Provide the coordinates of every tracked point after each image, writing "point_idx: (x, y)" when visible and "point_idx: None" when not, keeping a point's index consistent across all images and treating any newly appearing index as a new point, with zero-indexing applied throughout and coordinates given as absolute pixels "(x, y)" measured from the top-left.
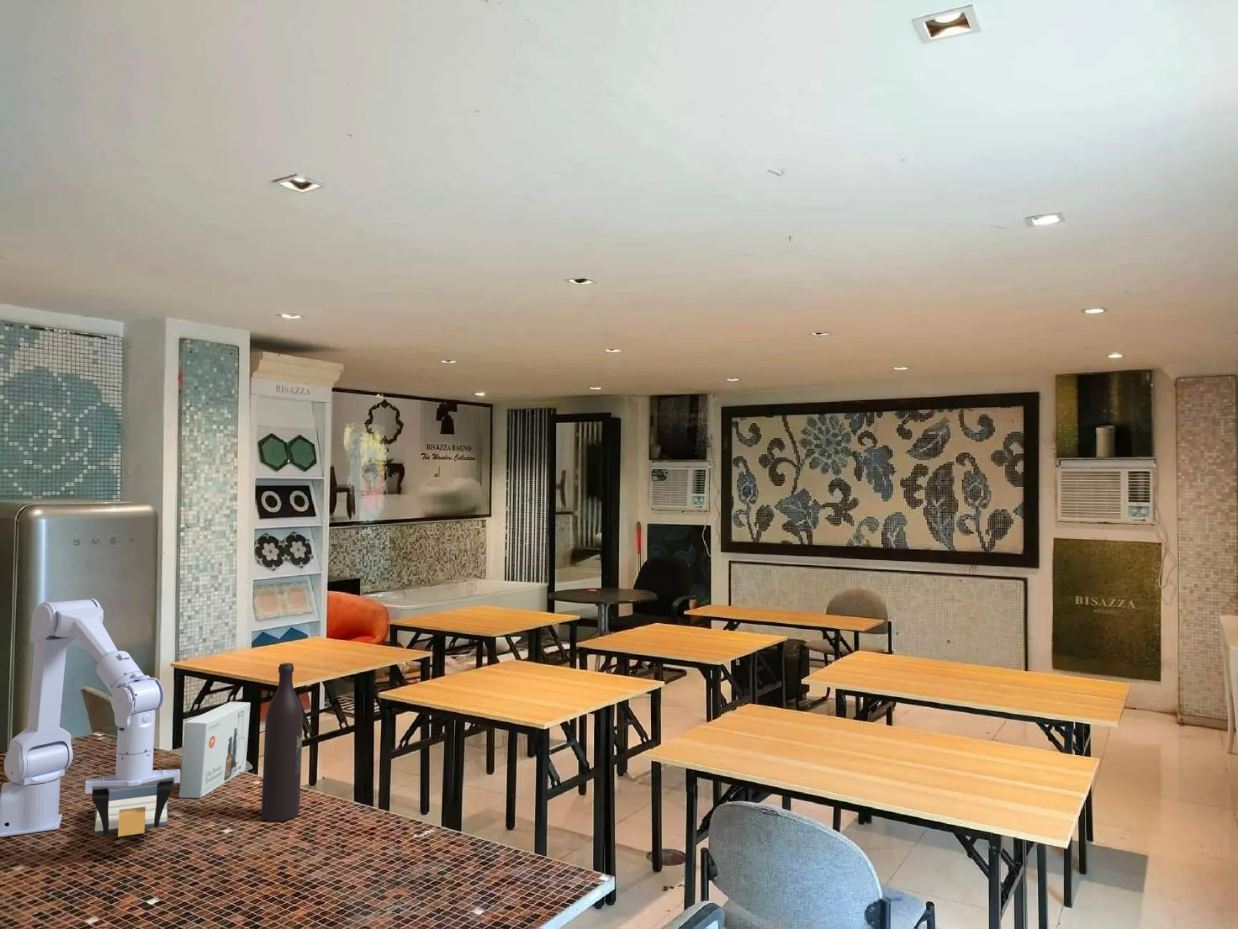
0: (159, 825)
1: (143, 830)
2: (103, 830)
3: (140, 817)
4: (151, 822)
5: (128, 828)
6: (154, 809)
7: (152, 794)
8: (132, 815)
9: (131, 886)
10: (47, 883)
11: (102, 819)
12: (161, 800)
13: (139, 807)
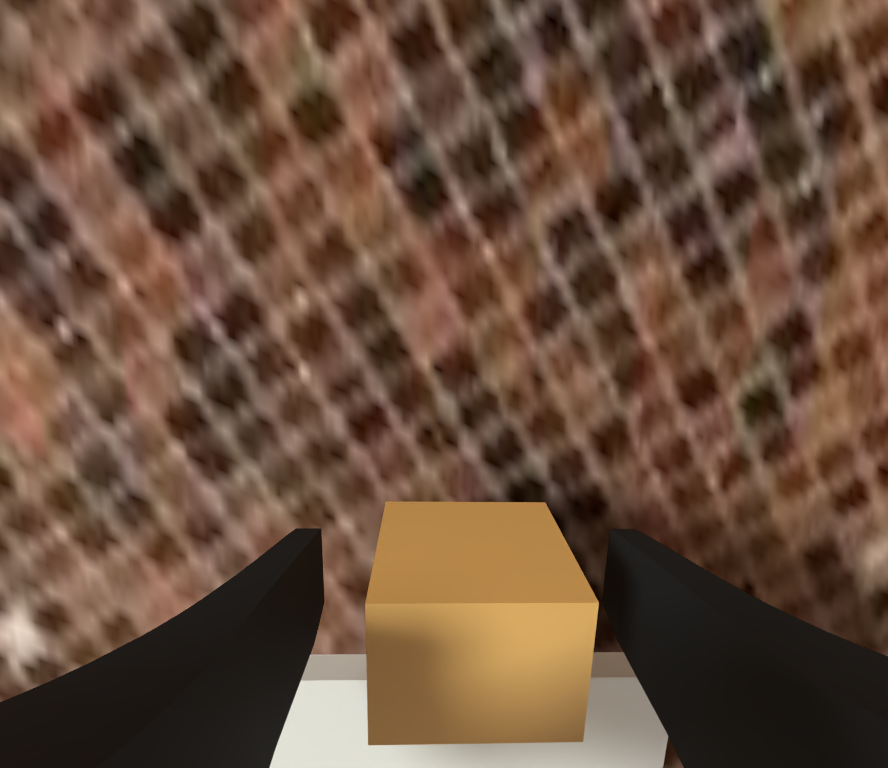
0: None
1: (390, 511)
2: (655, 543)
3: (410, 570)
4: (344, 659)
5: (491, 526)
6: None
7: None
8: (478, 591)
9: (455, 52)
10: (807, 312)
11: (727, 584)
12: (150, 666)
13: (418, 739)
